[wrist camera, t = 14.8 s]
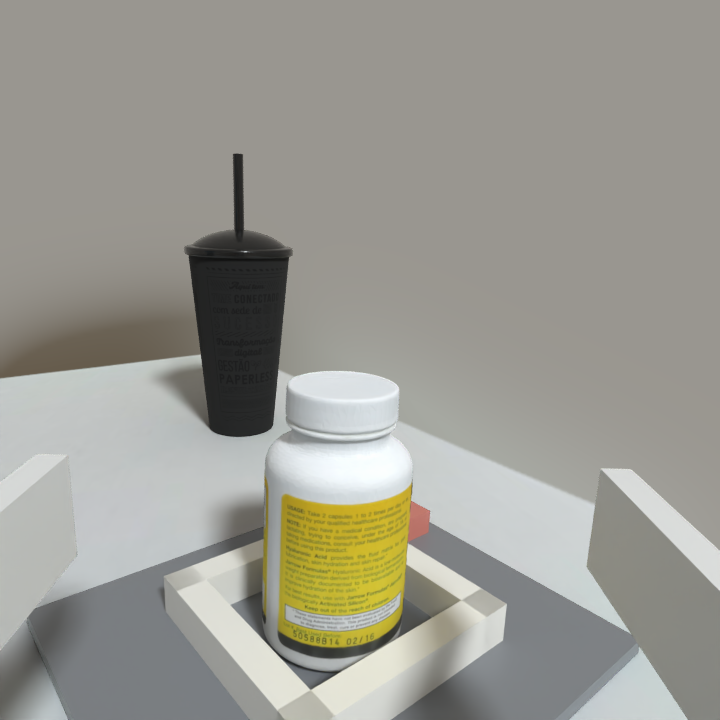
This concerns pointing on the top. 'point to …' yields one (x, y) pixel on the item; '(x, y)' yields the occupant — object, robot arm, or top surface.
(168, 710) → the socket board
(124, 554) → the top surface
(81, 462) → the top surface
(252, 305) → the drinking cup
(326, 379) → the supplement bottle
